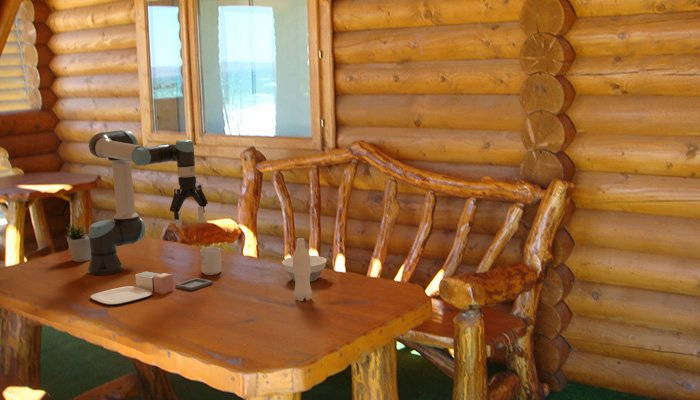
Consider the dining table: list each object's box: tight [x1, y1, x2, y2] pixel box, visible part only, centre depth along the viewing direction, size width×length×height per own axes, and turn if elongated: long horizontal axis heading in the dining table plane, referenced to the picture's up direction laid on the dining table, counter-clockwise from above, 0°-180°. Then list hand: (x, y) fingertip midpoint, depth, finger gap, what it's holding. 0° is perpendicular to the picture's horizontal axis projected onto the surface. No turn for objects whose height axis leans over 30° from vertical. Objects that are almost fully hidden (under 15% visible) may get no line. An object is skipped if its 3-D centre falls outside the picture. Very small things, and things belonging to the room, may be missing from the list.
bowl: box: [281, 255, 328, 283], centre depth 359 cm, size 20×20×8 cm
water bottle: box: [292, 237, 313, 302], centre depth 327 cm, size 7×7×25 cm
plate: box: [90, 285, 153, 306], centre depth 341 cm, size 22×22×2 cm
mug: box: [199, 246, 222, 276], centre depth 376 cm, size 12×9×11 cm
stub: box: [153, 272, 174, 295], centre depth 348 cm, size 5×6×7 cm
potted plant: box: [62, 222, 91, 263], centre depth 407 cm, size 13×14×20 cm
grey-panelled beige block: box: [135, 271, 160, 293], centre depth 353 cm, size 11×6×6 cm, turn 53°
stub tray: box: [175, 277, 213, 292], centre depth 354 cm, size 10×12×2 cm
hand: (190, 224), depth 359 cm, fingers open, 13 cm apart
